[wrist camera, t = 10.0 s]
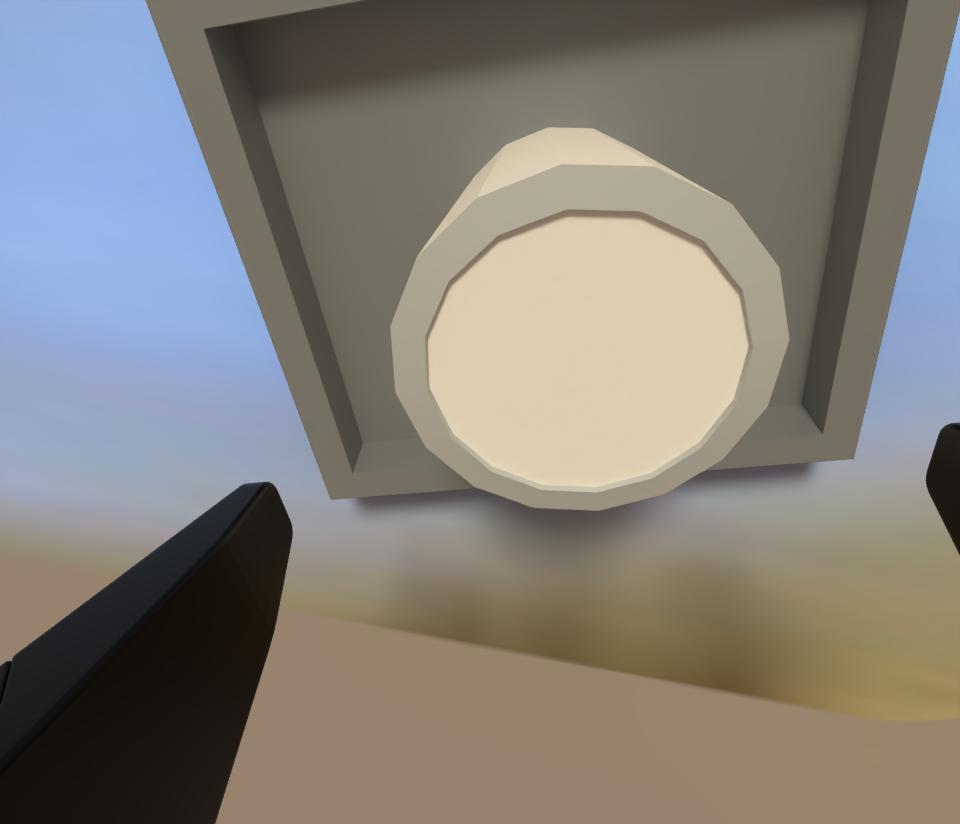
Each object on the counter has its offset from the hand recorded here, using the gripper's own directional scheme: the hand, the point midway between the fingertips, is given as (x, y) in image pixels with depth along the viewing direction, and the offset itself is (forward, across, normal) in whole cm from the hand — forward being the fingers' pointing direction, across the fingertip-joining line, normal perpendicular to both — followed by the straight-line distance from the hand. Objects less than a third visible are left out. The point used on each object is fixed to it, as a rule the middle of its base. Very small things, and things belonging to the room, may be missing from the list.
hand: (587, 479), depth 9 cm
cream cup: (+10, 0, 0) cm, 10 cm away
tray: (+10, 0, 0) cm, 10 cm away
